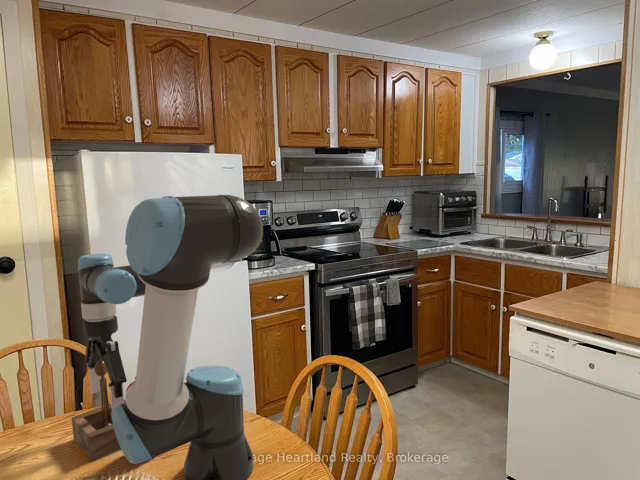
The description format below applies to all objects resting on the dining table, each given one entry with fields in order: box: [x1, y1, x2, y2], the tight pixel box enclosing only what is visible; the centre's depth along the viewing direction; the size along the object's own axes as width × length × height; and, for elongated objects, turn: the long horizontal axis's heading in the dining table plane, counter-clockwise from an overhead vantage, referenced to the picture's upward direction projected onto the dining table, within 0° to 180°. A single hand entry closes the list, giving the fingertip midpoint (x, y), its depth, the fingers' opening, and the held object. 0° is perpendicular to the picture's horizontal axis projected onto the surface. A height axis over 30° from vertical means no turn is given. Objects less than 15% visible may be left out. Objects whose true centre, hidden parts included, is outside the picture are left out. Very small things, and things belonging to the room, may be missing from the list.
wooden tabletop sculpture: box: [94, 360, 113, 429], centre depth 113 cm, size 6×5×20 cm
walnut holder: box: [71, 399, 125, 462], centre depth 114 cm, size 13×13×6 cm
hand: (107, 400), depth 113 cm, fingers open, 13 cm apart
